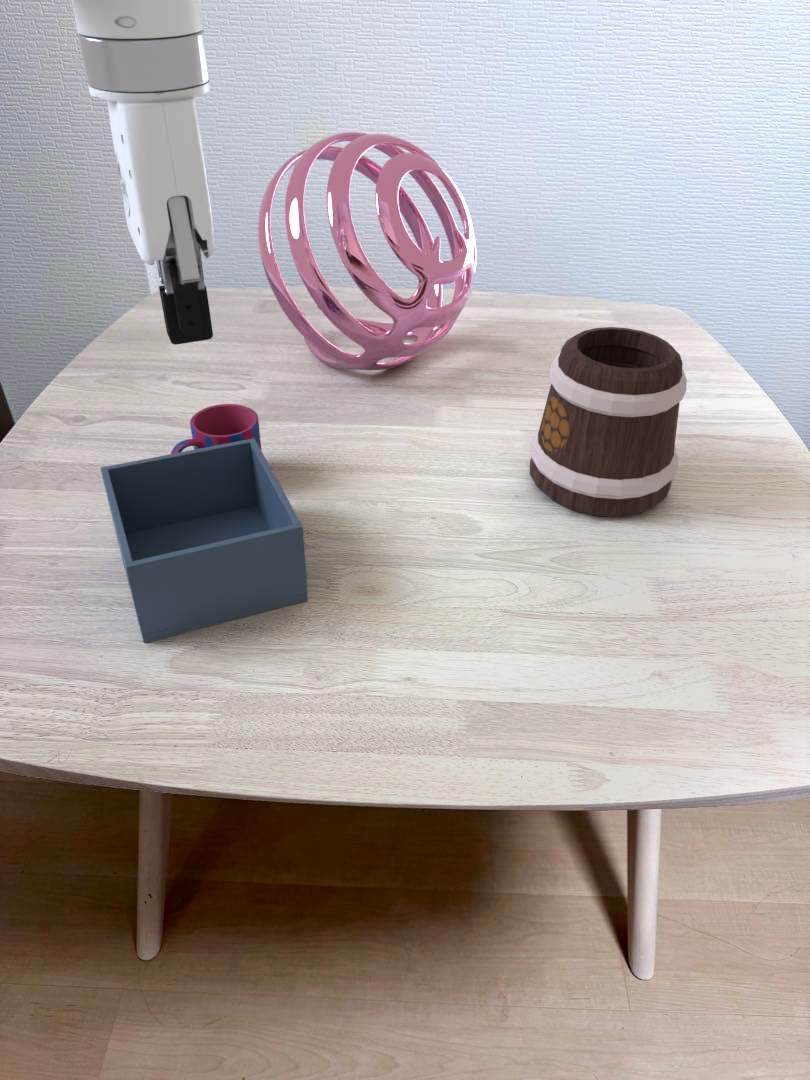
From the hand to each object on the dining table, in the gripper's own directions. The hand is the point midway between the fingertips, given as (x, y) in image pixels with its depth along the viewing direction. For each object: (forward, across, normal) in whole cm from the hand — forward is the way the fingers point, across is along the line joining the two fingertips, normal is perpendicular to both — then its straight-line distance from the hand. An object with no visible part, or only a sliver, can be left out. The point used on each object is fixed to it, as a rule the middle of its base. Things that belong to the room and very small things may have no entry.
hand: (190, 337), depth 65 cm
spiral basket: (+22, -35, +28) cm, 50 cm away
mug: (+22, -1, +40) cm, 46 cm away
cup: (+22, -12, +2) cm, 25 cm away
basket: (+18, +8, -2) cm, 20 cm away
